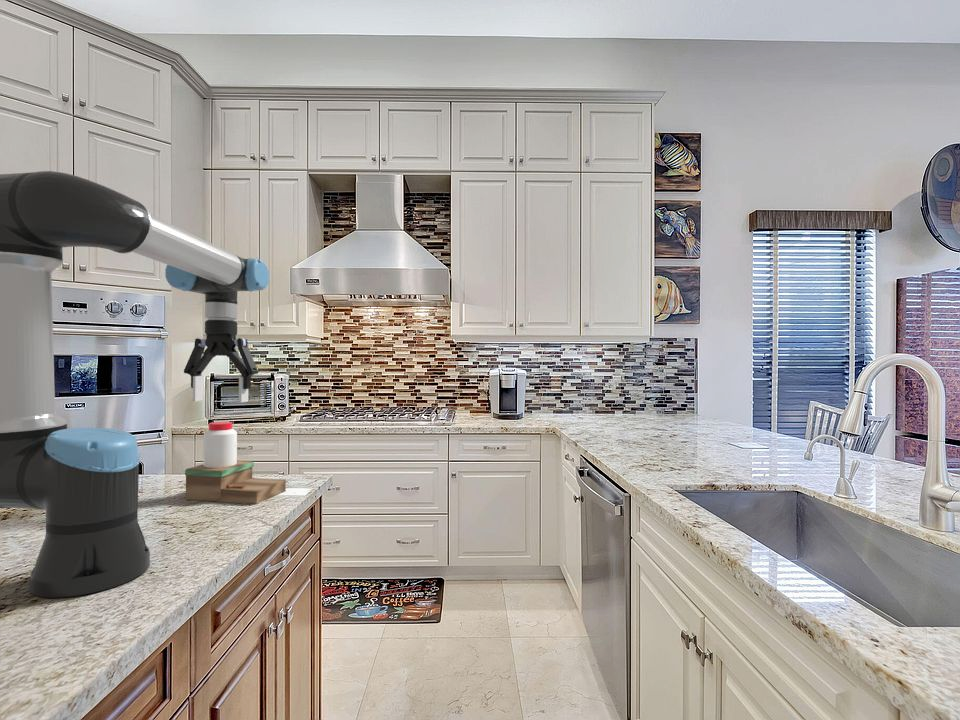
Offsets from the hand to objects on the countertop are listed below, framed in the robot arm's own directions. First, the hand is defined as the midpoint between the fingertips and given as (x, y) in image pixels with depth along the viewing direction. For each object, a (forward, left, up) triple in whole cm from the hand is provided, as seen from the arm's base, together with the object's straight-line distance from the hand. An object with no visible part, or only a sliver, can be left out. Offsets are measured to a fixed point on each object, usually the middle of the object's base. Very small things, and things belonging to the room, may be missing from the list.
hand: (220, 401), depth 128 cm
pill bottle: (0, 0, -17) cm, 17 cm away
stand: (0, -5, -24) cm, 25 cm away
